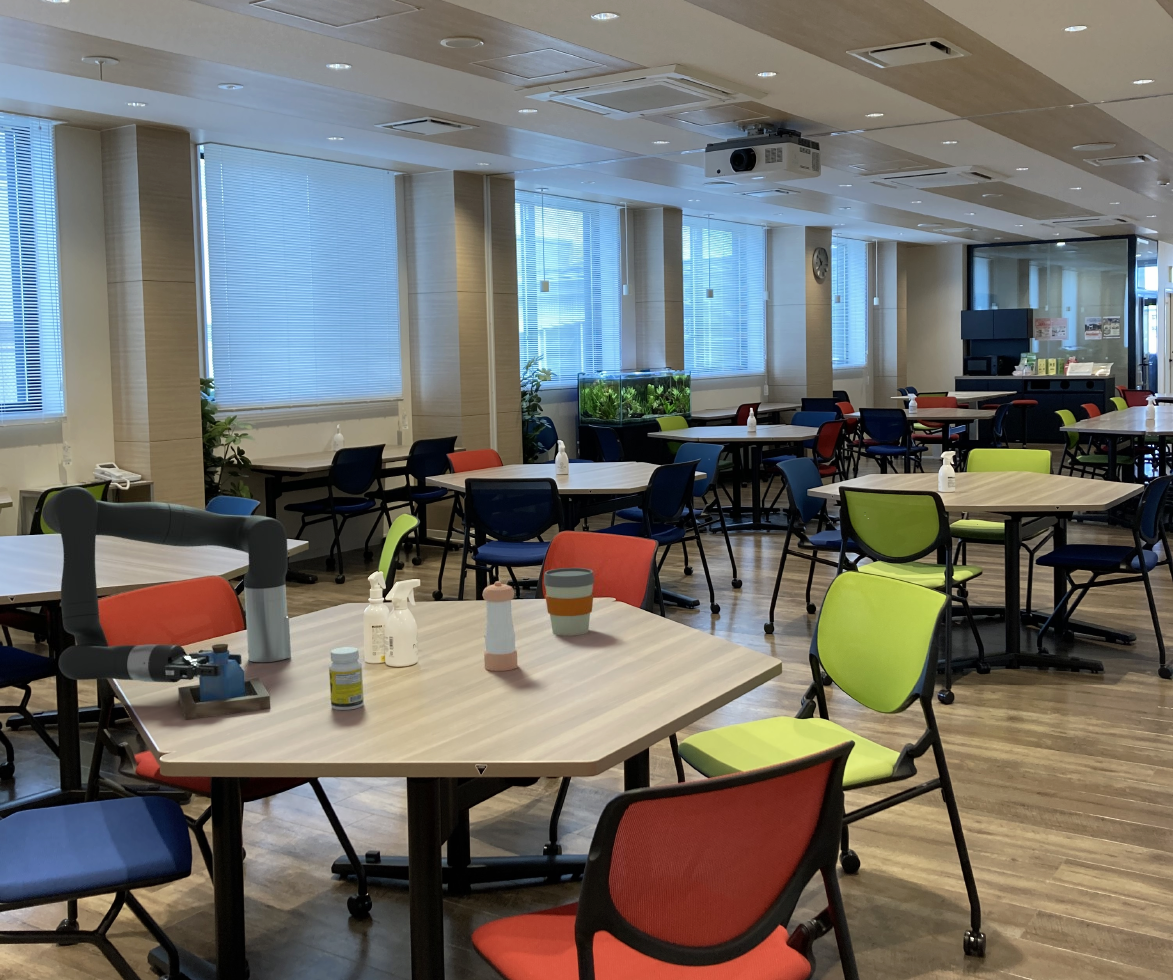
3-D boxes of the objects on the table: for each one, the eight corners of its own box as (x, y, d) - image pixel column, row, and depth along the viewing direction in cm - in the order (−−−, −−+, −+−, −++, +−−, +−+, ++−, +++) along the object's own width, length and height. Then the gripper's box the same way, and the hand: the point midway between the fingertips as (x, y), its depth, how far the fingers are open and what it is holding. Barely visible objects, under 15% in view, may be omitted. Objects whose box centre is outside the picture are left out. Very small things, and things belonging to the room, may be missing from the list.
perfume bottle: (245, 700, 239) (242, 642, 238) (227, 709, 233) (224, 649, 232) (219, 698, 241) (215, 641, 239) (201, 707, 235) (197, 648, 234)
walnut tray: (259, 689, 247) (258, 677, 247) (270, 708, 233) (269, 695, 232) (178, 699, 241) (178, 687, 241) (185, 719, 226) (184, 707, 226)
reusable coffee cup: (605, 628, 295) (603, 569, 294) (578, 639, 285) (576, 577, 283) (563, 624, 302) (561, 566, 300) (535, 634, 291) (533, 574, 290)
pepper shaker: (477, 667, 260) (474, 582, 258) (501, 661, 265) (498, 577, 263) (500, 672, 255) (497, 585, 253) (524, 666, 260) (521, 580, 258)
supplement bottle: (335, 701, 236) (332, 646, 235) (367, 701, 236) (364, 645, 234) (327, 711, 229) (324, 654, 228) (359, 710, 229) (357, 653, 228)
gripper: (135, 653, 231) (210, 655, 228) (174, 637, 245) (246, 638, 242) (138, 690, 232) (213, 693, 229) (177, 672, 246) (248, 674, 243)
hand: (230, 665), depth 235 cm, fingers open, 8 cm apart
